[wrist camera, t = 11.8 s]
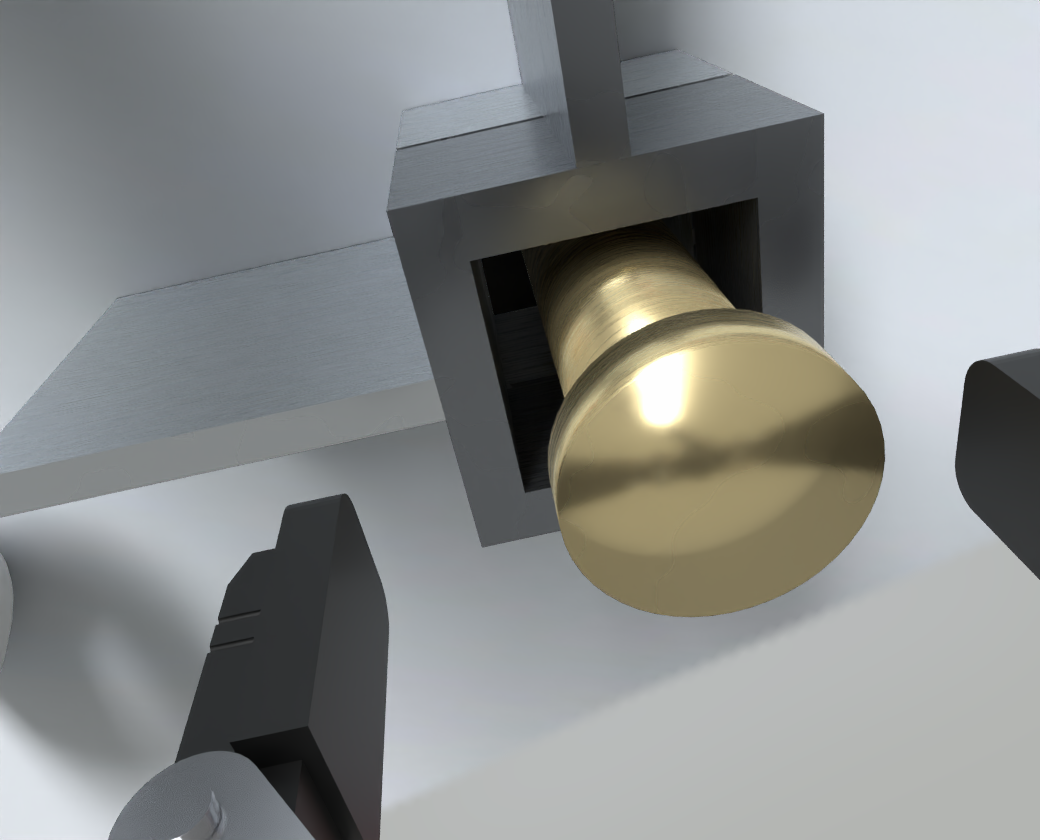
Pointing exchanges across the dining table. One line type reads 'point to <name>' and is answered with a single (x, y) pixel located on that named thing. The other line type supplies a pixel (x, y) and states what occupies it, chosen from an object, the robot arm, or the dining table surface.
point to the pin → (693, 430)
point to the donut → (5, 608)
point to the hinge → (444, 283)
